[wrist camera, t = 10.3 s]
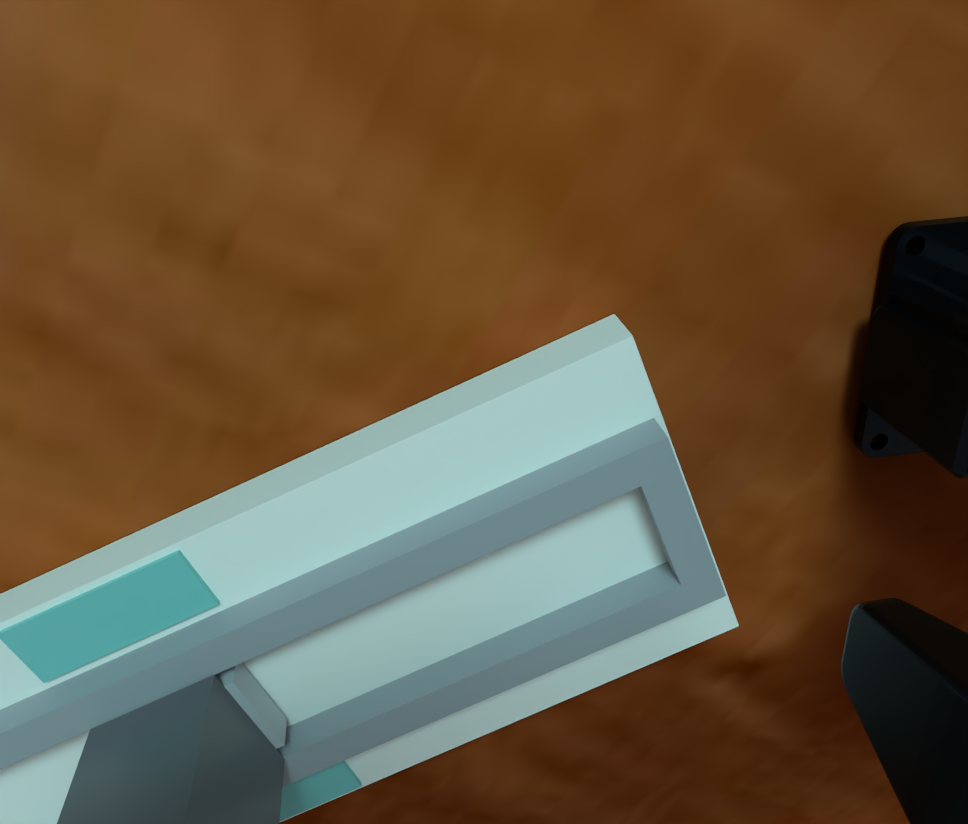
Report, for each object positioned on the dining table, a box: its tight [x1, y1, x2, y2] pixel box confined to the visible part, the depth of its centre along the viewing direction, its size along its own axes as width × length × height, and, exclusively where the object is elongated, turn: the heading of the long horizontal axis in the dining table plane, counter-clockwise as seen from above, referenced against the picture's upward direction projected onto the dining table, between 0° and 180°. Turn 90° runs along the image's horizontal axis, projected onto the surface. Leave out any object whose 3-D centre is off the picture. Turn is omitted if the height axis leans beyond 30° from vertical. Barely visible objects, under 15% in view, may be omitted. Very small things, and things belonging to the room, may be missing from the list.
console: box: [0, 314, 739, 824], centre depth 23 cm, size 28×10×2 cm, turn 113°
